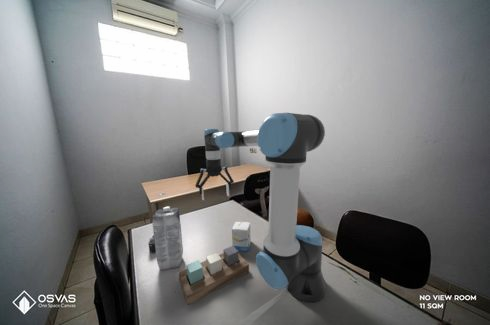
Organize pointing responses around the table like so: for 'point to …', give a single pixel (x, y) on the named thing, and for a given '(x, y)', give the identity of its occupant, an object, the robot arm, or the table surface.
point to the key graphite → (231, 255)
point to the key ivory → (214, 263)
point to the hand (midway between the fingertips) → (215, 197)
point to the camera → (152, 245)
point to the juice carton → (168, 238)
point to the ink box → (241, 236)
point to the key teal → (195, 272)
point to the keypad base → (212, 279)
